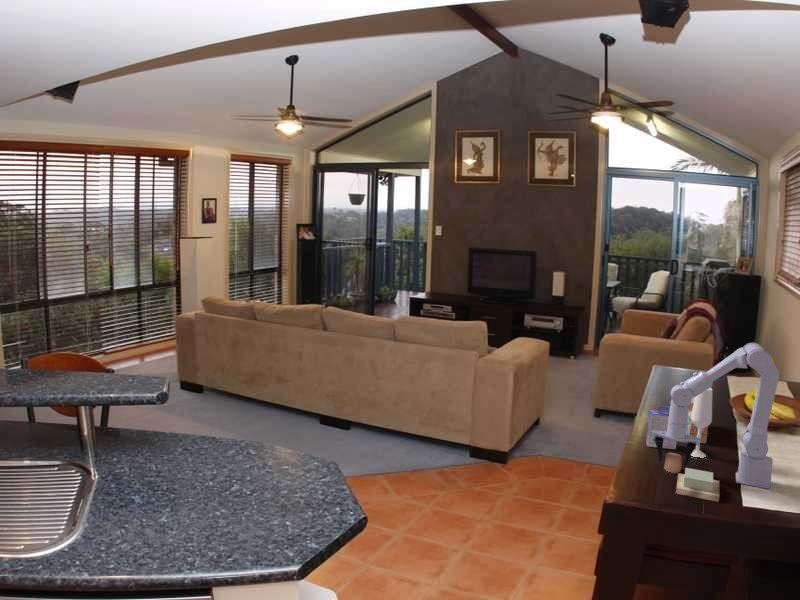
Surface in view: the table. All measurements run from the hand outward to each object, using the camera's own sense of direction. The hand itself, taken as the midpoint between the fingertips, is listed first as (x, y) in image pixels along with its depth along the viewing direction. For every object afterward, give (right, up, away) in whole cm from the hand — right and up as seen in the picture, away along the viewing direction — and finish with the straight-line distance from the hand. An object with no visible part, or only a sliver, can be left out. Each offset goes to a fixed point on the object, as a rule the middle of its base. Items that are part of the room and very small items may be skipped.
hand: (672, 461), depth 237 cm
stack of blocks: (+20, +3, +36) cm, 41 cm away
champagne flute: (+14, -1, +14) cm, 20 cm away
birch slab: (+2, -6, -13) cm, 15 cm away
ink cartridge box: (+4, +1, +21) cm, 22 cm away
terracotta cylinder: (0, -3, 0) cm, 3 cm away
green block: (+3, -4, -14) cm, 14 cm away
